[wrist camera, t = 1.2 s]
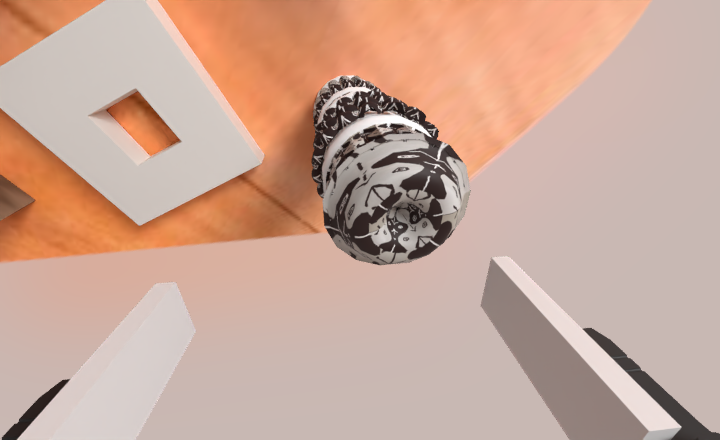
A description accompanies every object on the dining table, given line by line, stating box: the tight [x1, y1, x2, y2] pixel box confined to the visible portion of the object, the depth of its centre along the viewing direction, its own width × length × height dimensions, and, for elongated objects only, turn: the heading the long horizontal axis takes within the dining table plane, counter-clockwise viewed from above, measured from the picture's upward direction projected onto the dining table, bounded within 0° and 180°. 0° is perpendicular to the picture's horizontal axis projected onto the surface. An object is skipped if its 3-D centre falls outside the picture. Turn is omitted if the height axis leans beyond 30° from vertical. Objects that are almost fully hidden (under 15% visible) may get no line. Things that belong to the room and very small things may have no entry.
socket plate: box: [0, 0, 265, 226], centre depth 30 cm, size 18×18×3 cm
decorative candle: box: [312, 76, 471, 265], centre depth 24 cm, size 9×9×25 cm
